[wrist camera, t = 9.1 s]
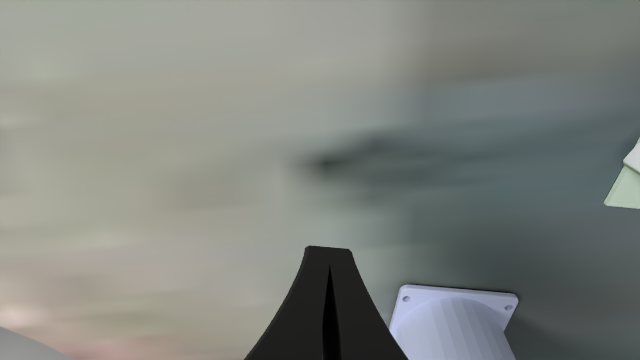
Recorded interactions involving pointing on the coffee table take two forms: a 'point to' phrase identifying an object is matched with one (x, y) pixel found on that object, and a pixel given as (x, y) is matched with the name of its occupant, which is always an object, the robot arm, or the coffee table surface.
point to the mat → (625, 189)
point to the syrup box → (633, 159)
